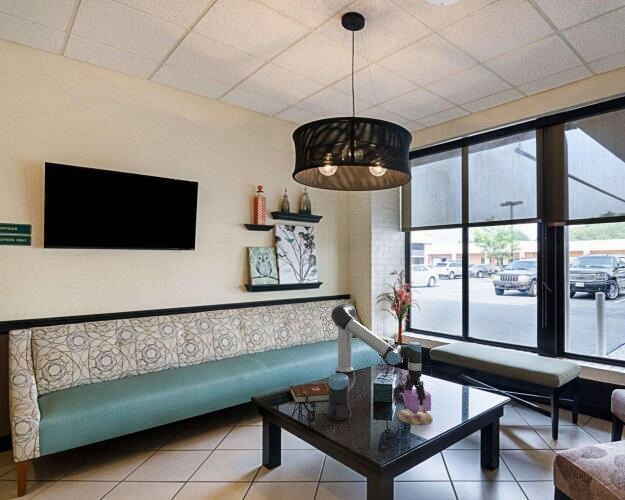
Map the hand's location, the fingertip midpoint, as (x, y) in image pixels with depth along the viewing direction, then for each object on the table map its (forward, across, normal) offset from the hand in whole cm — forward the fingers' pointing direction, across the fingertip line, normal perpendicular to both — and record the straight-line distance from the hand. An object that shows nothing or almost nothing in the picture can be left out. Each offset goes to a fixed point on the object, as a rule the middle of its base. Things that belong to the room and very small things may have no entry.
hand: (414, 406), depth 225 cm
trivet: (+6, 0, 0) cm, 6 cm away
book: (+7, +52, +45) cm, 69 cm away
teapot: (+3, 0, 0) cm, 3 cm away
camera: (+7, +29, -9) cm, 31 cm away
